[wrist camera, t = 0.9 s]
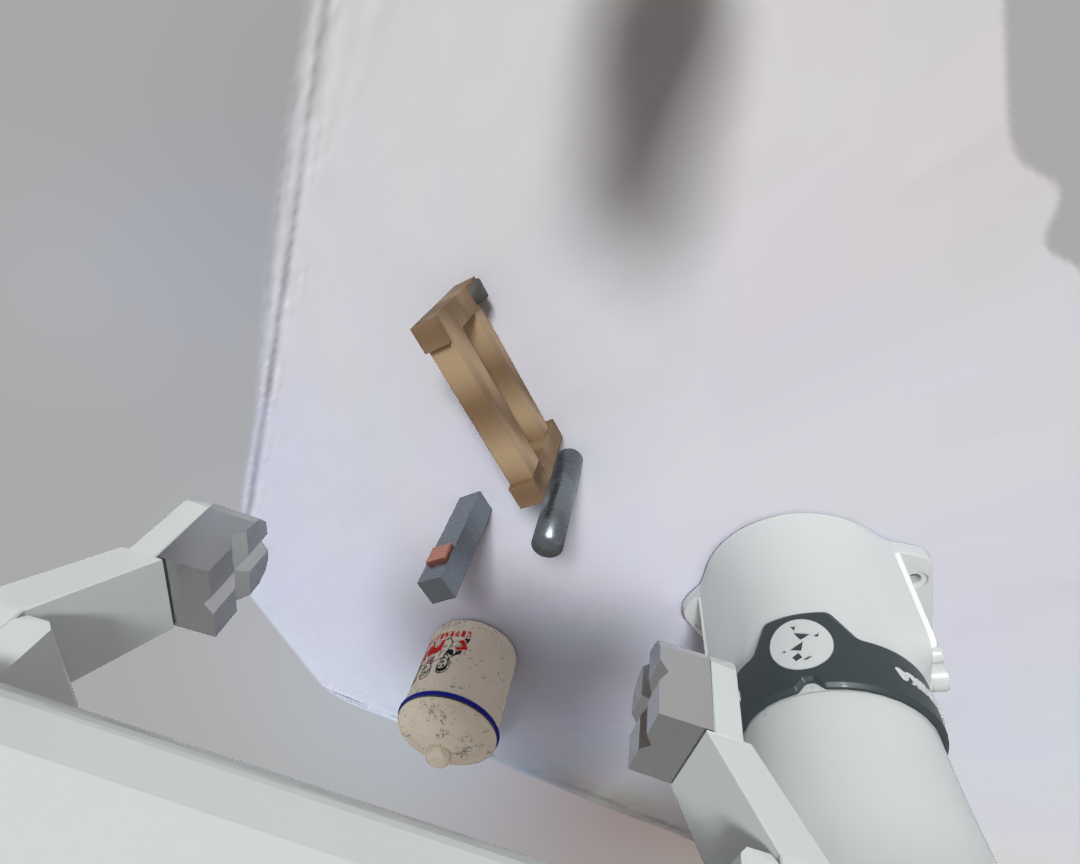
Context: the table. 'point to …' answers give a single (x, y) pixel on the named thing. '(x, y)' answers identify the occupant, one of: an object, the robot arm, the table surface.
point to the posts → (471, 520)
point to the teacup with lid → (459, 694)
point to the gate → (490, 390)
